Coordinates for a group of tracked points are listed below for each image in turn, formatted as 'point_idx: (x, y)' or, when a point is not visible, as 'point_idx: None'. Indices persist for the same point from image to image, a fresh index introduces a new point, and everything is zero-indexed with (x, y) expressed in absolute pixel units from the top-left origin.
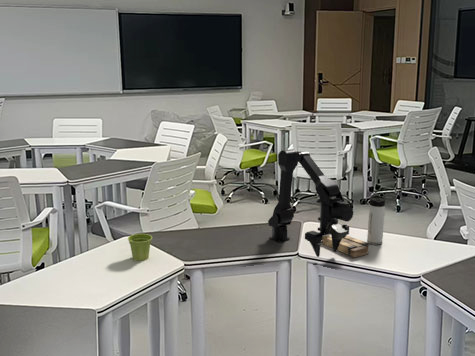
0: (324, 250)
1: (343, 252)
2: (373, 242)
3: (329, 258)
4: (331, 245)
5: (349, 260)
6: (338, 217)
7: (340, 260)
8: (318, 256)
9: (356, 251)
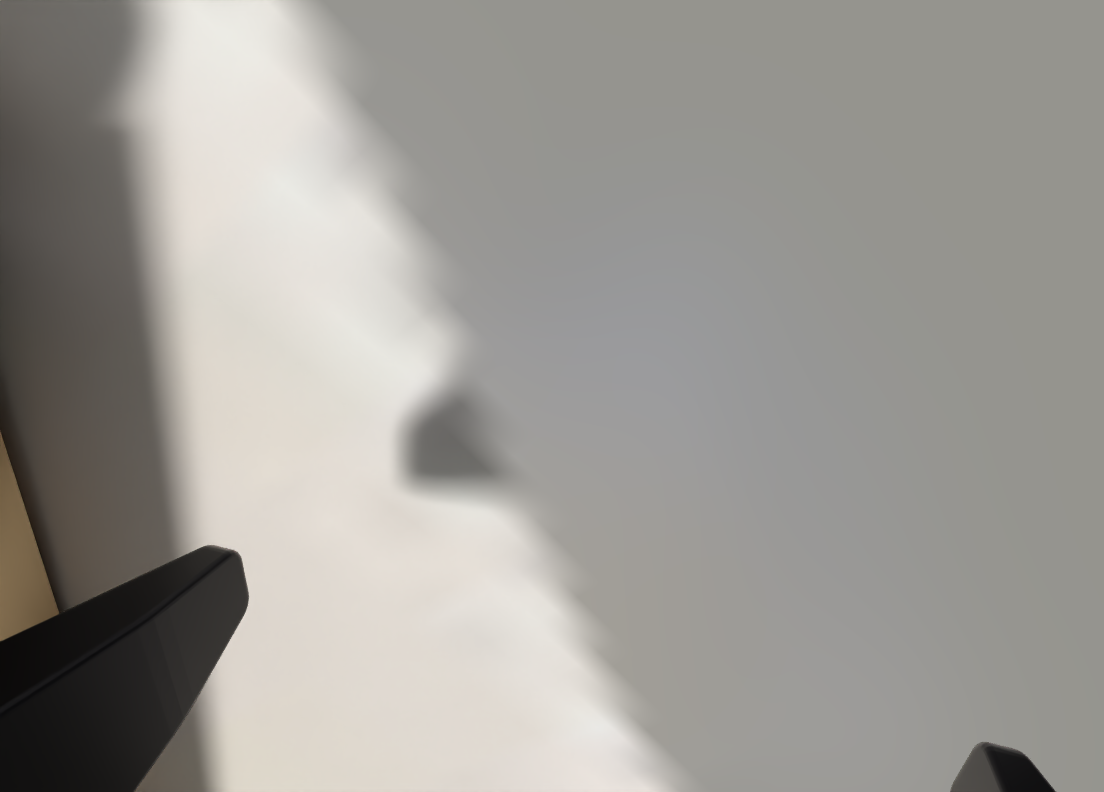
0: (283, 758)
1: (6, 460)
2: None
3: (511, 517)
4: None
5: (128, 32)
6: None
7: (365, 232)
8: (1033, 767)
9: None
